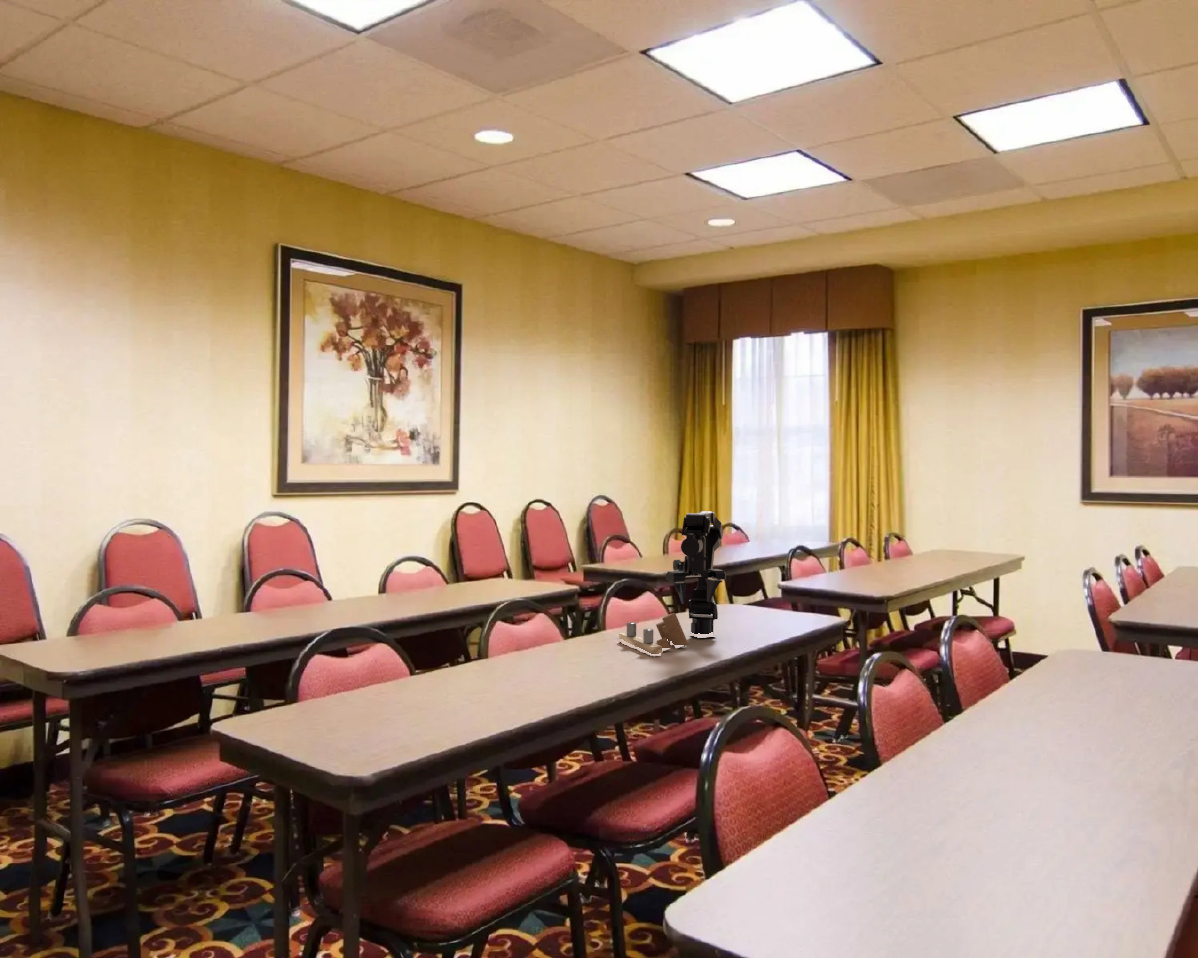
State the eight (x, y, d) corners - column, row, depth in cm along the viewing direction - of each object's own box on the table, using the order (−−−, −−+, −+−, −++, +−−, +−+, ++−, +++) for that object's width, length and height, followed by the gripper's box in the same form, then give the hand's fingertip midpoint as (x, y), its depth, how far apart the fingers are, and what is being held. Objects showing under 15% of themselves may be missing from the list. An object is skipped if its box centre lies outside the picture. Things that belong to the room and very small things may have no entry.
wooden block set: (660, 649, 295) (647, 619, 295) (685, 638, 295) (672, 608, 295) (663, 658, 277) (650, 626, 277) (690, 646, 277) (676, 615, 277)
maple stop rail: (627, 641, 293) (627, 632, 293) (661, 656, 271) (661, 646, 271) (619, 642, 292) (619, 633, 292) (652, 657, 270) (652, 646, 270)
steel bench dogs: (633, 644, 289) (633, 622, 289) (654, 653, 275) (655, 630, 275) (624, 645, 288) (625, 622, 288) (645, 654, 274) (646, 630, 274)
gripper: (708, 549, 301) (708, 597, 301) (657, 551, 293) (657, 600, 293) (727, 553, 291) (726, 602, 291) (674, 555, 283) (674, 606, 283)
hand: (695, 602), depth 290 cm, fingers open, 9 cm apart
